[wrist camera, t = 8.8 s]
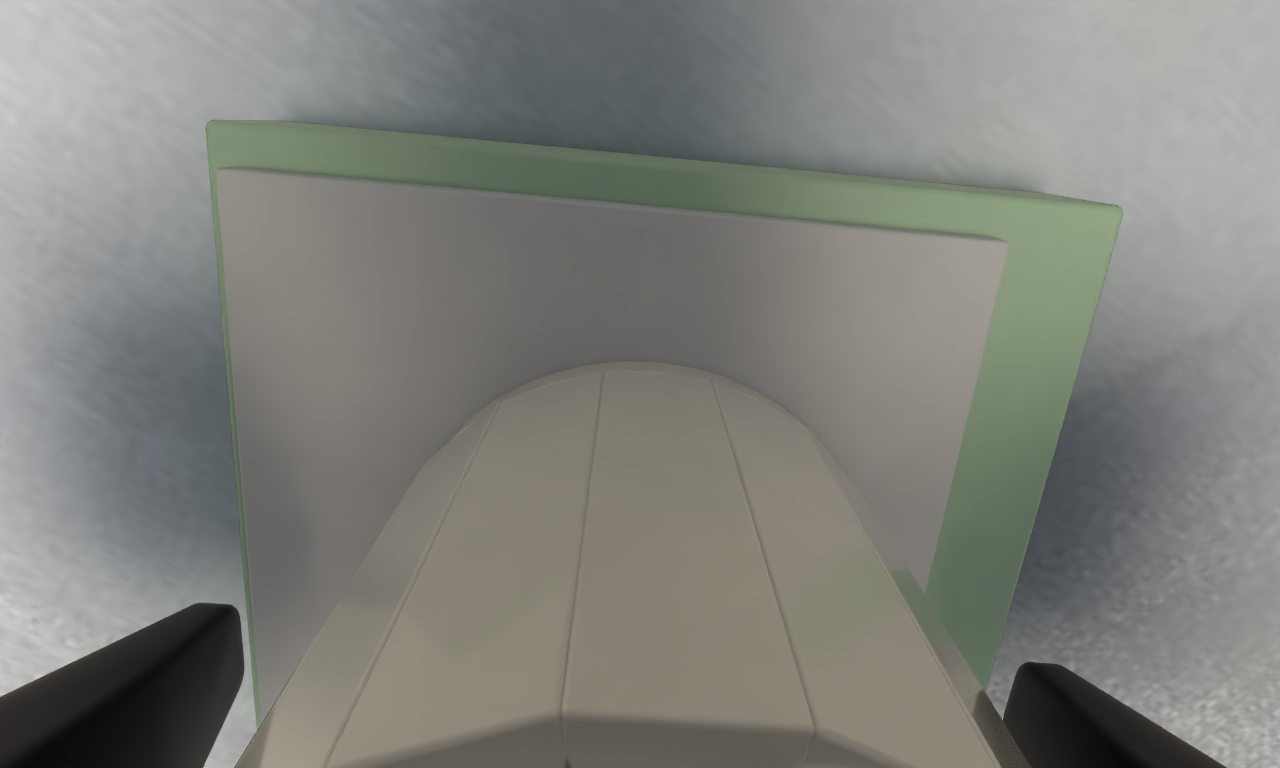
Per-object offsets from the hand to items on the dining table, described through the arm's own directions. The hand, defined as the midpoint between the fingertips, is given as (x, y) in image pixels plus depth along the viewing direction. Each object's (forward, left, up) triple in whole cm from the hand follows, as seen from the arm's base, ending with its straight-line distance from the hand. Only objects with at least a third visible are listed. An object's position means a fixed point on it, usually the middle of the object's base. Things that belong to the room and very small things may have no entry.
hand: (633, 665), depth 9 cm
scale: (0, 0, -4) cm, 4 cm away
